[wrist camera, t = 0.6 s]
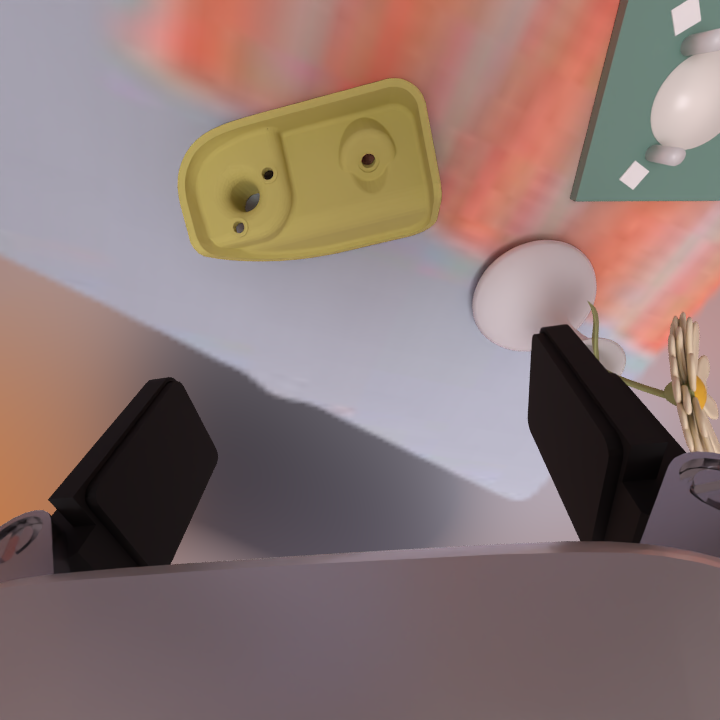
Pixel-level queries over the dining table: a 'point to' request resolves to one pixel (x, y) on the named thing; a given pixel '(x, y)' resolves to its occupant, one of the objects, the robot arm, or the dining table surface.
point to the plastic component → (314, 176)
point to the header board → (656, 107)
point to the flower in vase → (572, 306)
